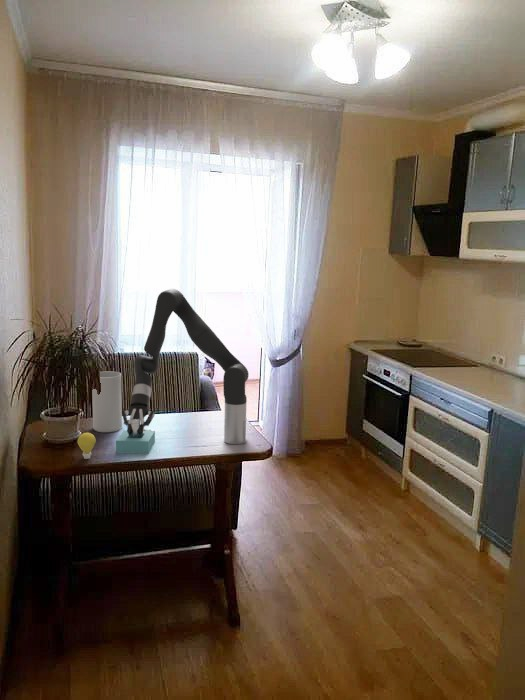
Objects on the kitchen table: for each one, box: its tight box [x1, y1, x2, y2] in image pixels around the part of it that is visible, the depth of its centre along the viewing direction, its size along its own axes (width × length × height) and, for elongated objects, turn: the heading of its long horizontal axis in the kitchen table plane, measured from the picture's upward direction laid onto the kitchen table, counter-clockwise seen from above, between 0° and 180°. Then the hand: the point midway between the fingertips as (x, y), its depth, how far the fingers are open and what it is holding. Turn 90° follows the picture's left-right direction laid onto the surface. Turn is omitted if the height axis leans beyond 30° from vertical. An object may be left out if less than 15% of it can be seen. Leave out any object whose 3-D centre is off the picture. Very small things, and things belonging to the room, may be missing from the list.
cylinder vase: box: [91, 370, 123, 433], centre depth 251 cm, size 12×12×25 cm
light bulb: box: [77, 432, 97, 460], centre depth 217 cm, size 7×7×10 cm
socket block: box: [115, 429, 156, 454], centre depth 230 cm, size 13×13×5 cm
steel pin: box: [131, 418, 141, 438], centre depth 229 cm, size 4×4×10 cm
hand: (134, 433), depth 228 cm, fingers closed on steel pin, 3 cm apart
